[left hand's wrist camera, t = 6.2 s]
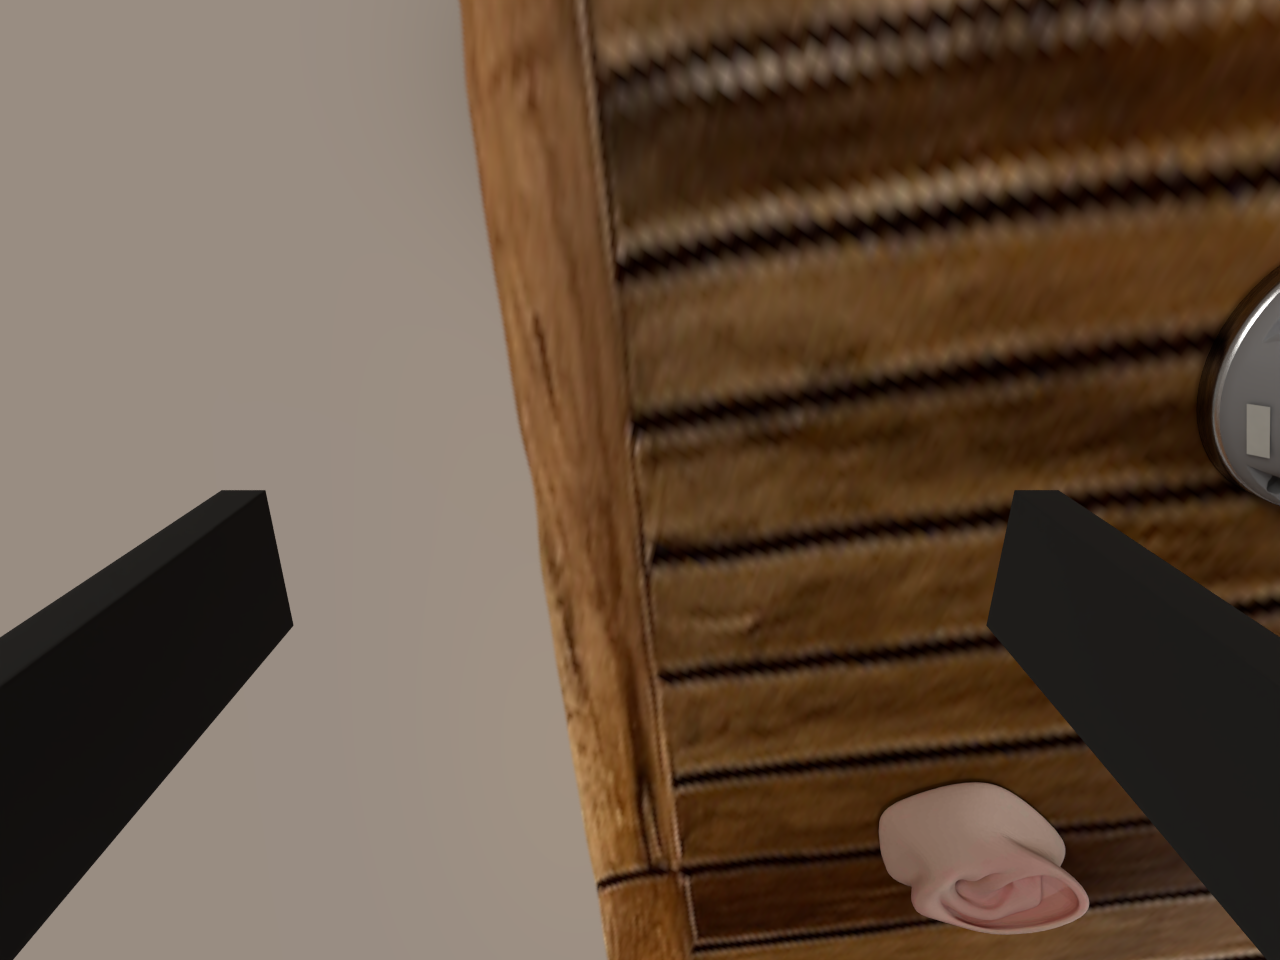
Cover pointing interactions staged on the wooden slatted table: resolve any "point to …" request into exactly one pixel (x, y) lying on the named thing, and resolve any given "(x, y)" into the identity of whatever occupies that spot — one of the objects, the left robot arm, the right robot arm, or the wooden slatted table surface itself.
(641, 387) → the wooden slatted table surface
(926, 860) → the anatomical model
